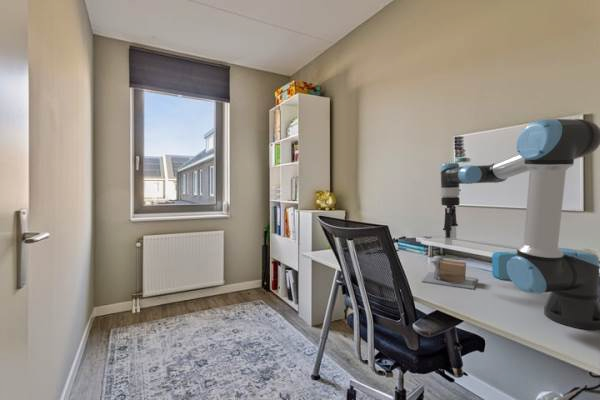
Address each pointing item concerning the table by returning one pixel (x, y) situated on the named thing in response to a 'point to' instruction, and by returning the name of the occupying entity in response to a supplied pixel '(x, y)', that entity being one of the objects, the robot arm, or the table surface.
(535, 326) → the table surface
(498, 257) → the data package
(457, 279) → the wooden notched block
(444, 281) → the boss board
